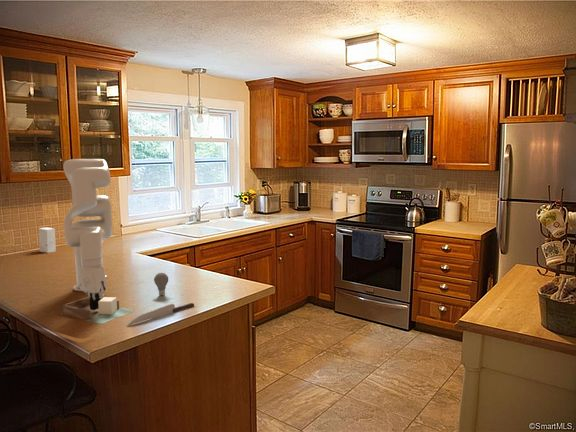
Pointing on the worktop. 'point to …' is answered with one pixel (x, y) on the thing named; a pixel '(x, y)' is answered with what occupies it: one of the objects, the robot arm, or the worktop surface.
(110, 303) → the cream block
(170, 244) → the worktop surface
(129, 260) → the worktop surface
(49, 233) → the skincare box
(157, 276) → the light bulb
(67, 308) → the walnut cubby
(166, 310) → the kitchen knife
